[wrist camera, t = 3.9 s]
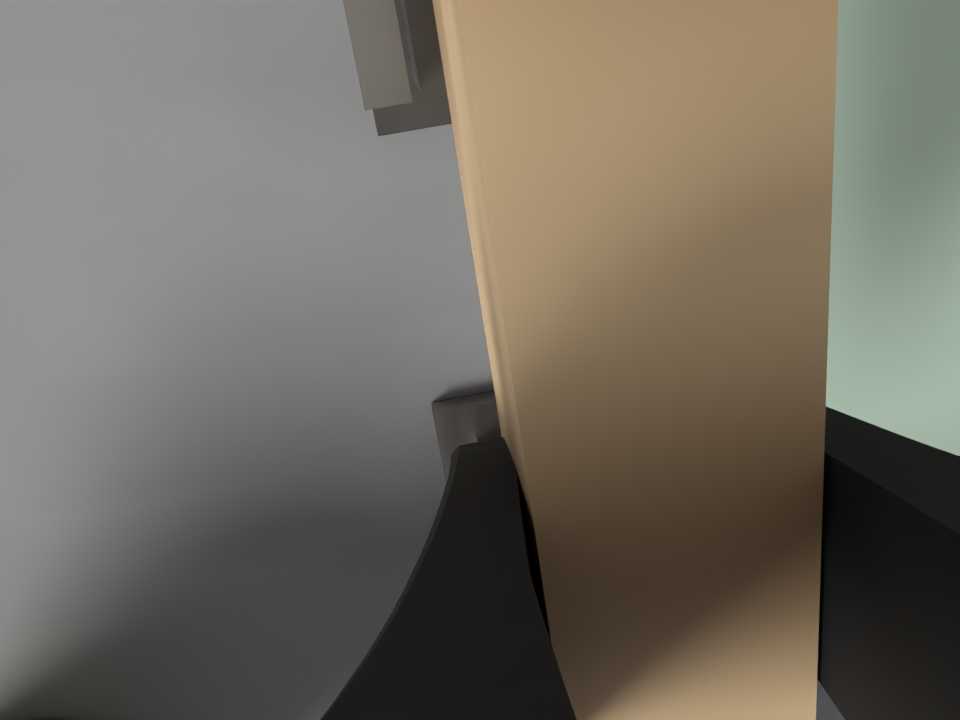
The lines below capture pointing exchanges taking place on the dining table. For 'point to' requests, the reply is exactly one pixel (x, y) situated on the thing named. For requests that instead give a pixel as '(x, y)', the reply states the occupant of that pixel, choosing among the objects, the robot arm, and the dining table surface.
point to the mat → (897, 219)
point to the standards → (404, 107)
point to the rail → (658, 331)
